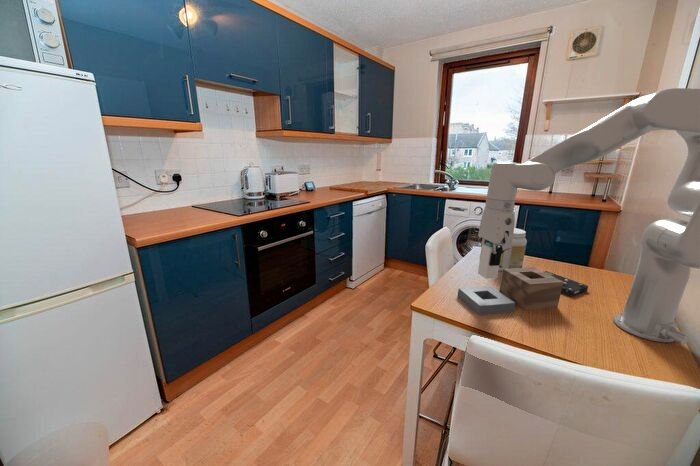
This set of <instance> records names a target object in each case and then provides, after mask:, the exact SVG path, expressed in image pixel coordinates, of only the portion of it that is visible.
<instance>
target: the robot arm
mask: <svg viewBox="0 0 700 466" xmlns="http://www.w3.org/2000/svg"><path fill="white" fill-rule="evenodd" d="M661 130H663V131H675V132H676V133H677V134H678V135H679V136H680V137H681V138H682V139H683V140H684V142H685V144H686V146H687V156H686V160H685V163H684V165H683V166H682V168H681V170H680V173H679V174H678V176H677V179H676V180H675V183H674V184H673V187H672V188H671V190H670V192H669V195H668V197H667V205H668V207H669V209H670V210H672V211H673V212H675V213H677V214H680V215H684V216H687V217H690V218H689V221H687V220H683V219H679V218H678V219H677V218H663V219H659V220H655V221H654V222H651V223H650V224H649V225H648V226H647V227H646V228H645V229H644V231H643V233H642V235H641V240H640V254H639V259H638V263H637V266H636V271H635V272H634V277H633V280H632V283H631V287H630V289H629V291H628V296H627V298H626V302H625V305H624V308H623V312H622V313H617V314H615V315H614V316H613V319H612V320H613V322H614V324H616V326H617V327H619V328H620V329H622V330H623V331H626V332H627V333H630V334H631V335H634V336H637V337H639V338H642V339H645V340H649V341H653V342H659V343H673V342H677V343H679V344H681V345H685V344H686V343H688V341H689V340H688V338H689V335H688V334H687V333H684V332H682V331H680V330H678V328H677V327H678V323H677V322H674V319H675V318H676V314H677V311H678V309H679V306H680V303H681V300H682V298H683V295H684V292H685V289H686V286H687V284H688V283H689V279H690V275H691V268H692V269H698V270H700V88H688V87H687V88H686V87H685V88H684V87H683V88H681V87H678V88H667V89H661V90H658V91H655V92H652V93H648V94H644V95H643V96H639V97H638V98H635V99H633V100H631V101H629V102H627V103H626V104H625V105H623V106H621V107H620V108H618V109H616V110H614V111H613V112H611V113H610V114H608V115H606V116H605V117H603V118H601V119H599V120H598V121H597V122H596V121H595V123H593V124H591V125H589V126H587V127H586V128H584V129H582V130H581V131H579V132H577V133H575V134H573V135H571V136H569V137H568V138H566V139H564V140H563V141H561V142H559V143H557V144H555V145H554V146H553V145H552V146H551V147H550V148H548V149H546V150H544V151H543V152H541V153H539V154H536V156H534V157H532V158H531V159H528V160H527V161H525V162H523V163H518V162H511V161H497V162H496V161H495V162H494V163H493V164H492V166H491V169H490V174H489V182H488V187H487V188H488V189H487V193H486V194H487V195H486V199H485V206H484V209H483V213H482V215H481V219H480V222H479V223H480V224H479V228H478V233H477V236H478V238H479V241H480V248H481V249H482V244H486V242H492V243H493V253H491V257H490V262H489V265H490V266H498V265H499V264H500V259H501V254H503V253H504V251H506V250H509V249H511V246H510V244H511V243H512V240H513V234H514V228H515V225H516V223H515V222H516V221H515V220H516V218H515V212H514V208H515V201H516V197H517V191H518V189H522V190H528V191H534V192H540V191H543V190H546V189H549V187H551V186H552V185H553V184H554V182H555V181H556V174H558V173H559V172H562V171H564V170H566V169H569V168H571V167H574V166H577V165H581V164H585V163H590V162H592V161H596V160H598V159H602V158H603V157H605V156H607V155H609V154H611V153H612V152H615V151H616V150H617V149H620V148H621V147H623V146H626V145H627V144H629V143H631V142H632V141H635V140H637V139H638V138H640V137H642V136H644V135H646V134H647V133H650V132H654V131H661ZM497 246H500V247H499V248H498V249H497ZM481 249H480V250H481ZM480 256H481V253H480V255H479V257H480Z"/></svg>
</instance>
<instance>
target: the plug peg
mask: <svg viewBox="0 0 700 466" xmlns="http://www.w3.org/2000/svg"><path fill="white" fill-rule="evenodd" d="M499 247H500V246H497V249H498V248H499ZM481 248H482V249H480V254H481V256H480V255H479V263H478V264H479V265H478V270H477V274H478V275H480V276H481V277H482V278H484V279H486V280H487V279H496V278H497V279H498V274H499V265H498V266H490V265H489V262H490V257H491V253H493V243H492V242H486V244H482V247H481Z"/></svg>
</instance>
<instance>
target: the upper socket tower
mask: <svg viewBox="0 0 700 466" xmlns="http://www.w3.org/2000/svg"><path fill="white" fill-rule="evenodd" d="M562 287H563V281H561V280H559V279H557V278H555V277H553V276H551V275H549V274H547V273H545V271H542V270H540V269H538V268H536V267H534V266H529V267H527V266H526V267H522V268H511V269H503V271H502V274H501V280H500V284H499V290H498V291H499V292H500V293H502V294H503V295H504V296H506V297H507V298H509V299H510V300H512V301H513V302H515V305H517V306H518V307H519V308H521V309H522V310H524V311H533V310H535V311H536V310H544V309H554V308H558V307H559V302H560V299H561V295H562V293H561V291H562Z"/></svg>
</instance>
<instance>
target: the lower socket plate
mask: <svg viewBox="0 0 700 466" xmlns="http://www.w3.org/2000/svg"><path fill="white" fill-rule="evenodd" d="M457 297H458V298H459V299H460V300H461V301H462V302H464V303H465V304H466V305H467V306H468V308H471V309H472V310H473V311H474V312H475V313H476V314H477V315H478V316H480V315H489V314H490V315H491V314H500V313H512V312H515V305H516V304H515V302H513V301H512V300H510V299H509V298H507V297H506V296H504V295H503V294H502V293H500V292H499V290H498V289H496V288H494V287H493V286H492V285H478V286H466V287H458V289H457Z"/></svg>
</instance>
